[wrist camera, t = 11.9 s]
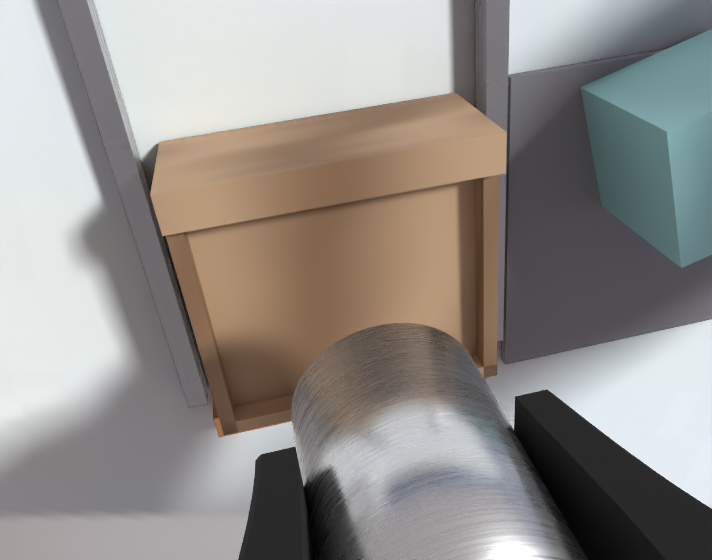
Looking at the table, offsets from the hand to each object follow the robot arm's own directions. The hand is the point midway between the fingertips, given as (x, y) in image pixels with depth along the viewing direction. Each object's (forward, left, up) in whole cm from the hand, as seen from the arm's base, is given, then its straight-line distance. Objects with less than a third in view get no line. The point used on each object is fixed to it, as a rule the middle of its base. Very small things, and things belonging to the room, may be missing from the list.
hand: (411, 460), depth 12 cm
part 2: (-10, -2, -9) cm, 13 cm away
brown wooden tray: (0, 0, -9) cm, 9 cm away
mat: (-10, +1, -9) cm, 13 cm away
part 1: (0, 0, -2) cm, 2 cm away
